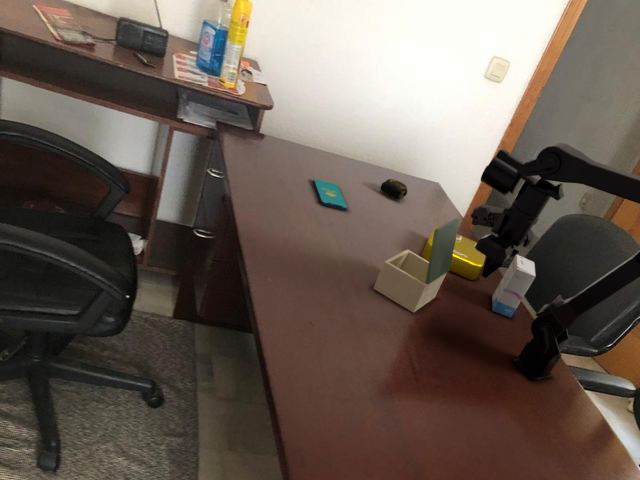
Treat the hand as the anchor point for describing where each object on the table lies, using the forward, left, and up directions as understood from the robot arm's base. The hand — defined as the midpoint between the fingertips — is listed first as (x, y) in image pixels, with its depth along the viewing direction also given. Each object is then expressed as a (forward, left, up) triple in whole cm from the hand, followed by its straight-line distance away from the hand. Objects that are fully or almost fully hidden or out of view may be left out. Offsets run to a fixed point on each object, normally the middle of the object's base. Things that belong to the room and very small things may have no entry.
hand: (484, 276), depth 136 cm
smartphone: (+58, -2, -13) cm, 60 cm away
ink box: (+5, -20, -13) cm, 24 cm away
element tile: (+26, -21, -13) cm, 36 cm away
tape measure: (+60, -26, -13) cm, 67 cm away
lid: (+10, +4, 0) cm, 11 cm away
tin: (+13, +6, -12) cm, 19 cm away
